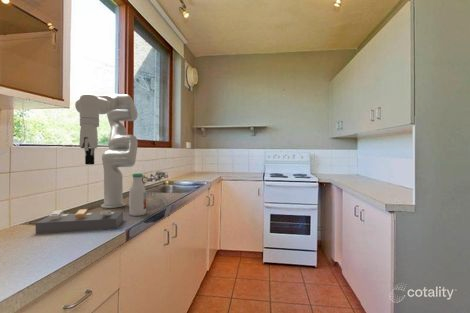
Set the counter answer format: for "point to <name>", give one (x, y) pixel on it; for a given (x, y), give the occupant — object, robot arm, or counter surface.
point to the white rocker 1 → (56, 214)
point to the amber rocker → (81, 213)
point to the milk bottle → (137, 196)
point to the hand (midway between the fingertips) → (89, 164)
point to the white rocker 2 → (105, 212)
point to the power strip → (80, 222)
